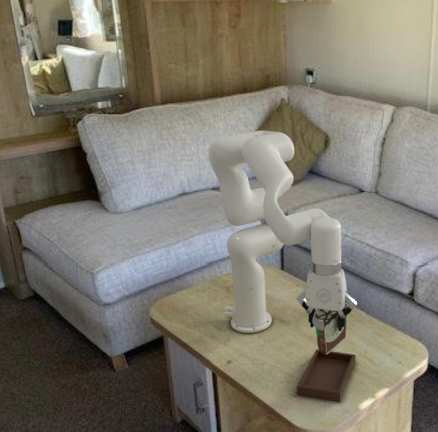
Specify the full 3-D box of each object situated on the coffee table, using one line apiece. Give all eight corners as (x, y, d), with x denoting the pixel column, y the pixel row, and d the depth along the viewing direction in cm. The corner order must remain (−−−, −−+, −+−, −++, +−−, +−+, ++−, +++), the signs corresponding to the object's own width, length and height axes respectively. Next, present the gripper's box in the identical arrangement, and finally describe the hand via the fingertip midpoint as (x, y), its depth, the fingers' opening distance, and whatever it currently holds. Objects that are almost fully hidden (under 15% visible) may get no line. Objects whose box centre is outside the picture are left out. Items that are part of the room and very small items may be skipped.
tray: (297, 395, 163) (296, 386, 162) (316, 357, 179) (316, 349, 178) (340, 402, 161) (340, 393, 160) (355, 362, 177) (355, 354, 176)
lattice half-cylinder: (329, 329, 172) (329, 297, 169) (348, 335, 170) (348, 303, 166) (303, 350, 162) (302, 317, 159) (323, 357, 160) (322, 323, 156)
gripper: (288, 268, 156) (291, 330, 162) (356, 276, 152) (356, 338, 159) (298, 256, 163) (300, 315, 169) (363, 263, 159) (362, 323, 166)
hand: (327, 326), depth 164 cm, fingers closed on lattice half-cylinder, 7 cm apart
